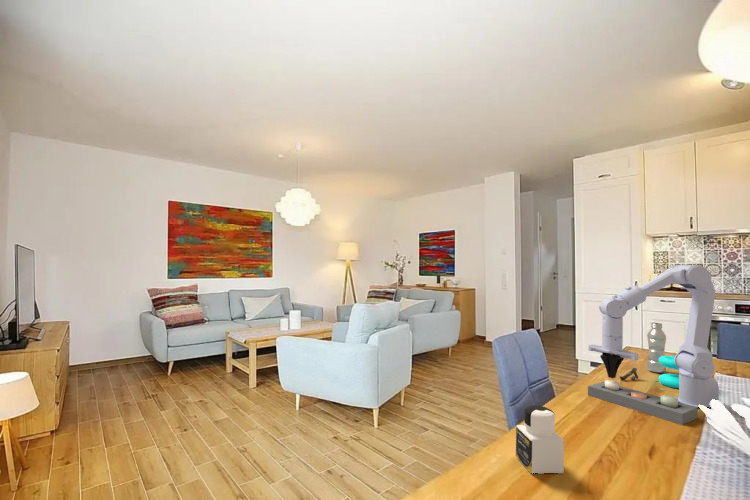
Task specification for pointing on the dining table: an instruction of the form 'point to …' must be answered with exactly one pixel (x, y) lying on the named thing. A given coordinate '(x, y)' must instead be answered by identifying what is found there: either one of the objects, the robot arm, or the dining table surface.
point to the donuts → (669, 379)
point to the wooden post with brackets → (630, 374)
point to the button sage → (669, 401)
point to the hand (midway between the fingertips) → (611, 377)
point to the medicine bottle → (539, 442)
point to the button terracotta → (639, 395)
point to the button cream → (612, 385)
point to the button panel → (644, 403)
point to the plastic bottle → (656, 348)
